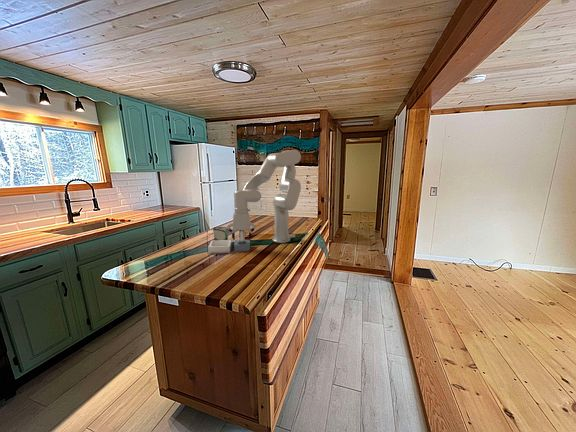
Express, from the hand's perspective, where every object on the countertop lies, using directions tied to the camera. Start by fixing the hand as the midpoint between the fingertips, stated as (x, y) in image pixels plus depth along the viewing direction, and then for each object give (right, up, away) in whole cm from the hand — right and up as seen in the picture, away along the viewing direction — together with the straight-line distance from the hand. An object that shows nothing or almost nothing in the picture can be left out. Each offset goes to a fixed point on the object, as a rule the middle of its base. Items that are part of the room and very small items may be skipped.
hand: (241, 239), depth 141 cm
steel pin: (0, -6, +1) cm, 6 cm away
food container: (-15, -4, +13) cm, 20 cm away
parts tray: (-13, -6, -1) cm, 14 cm away
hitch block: (0, -6, +1) cm, 6 cm away
